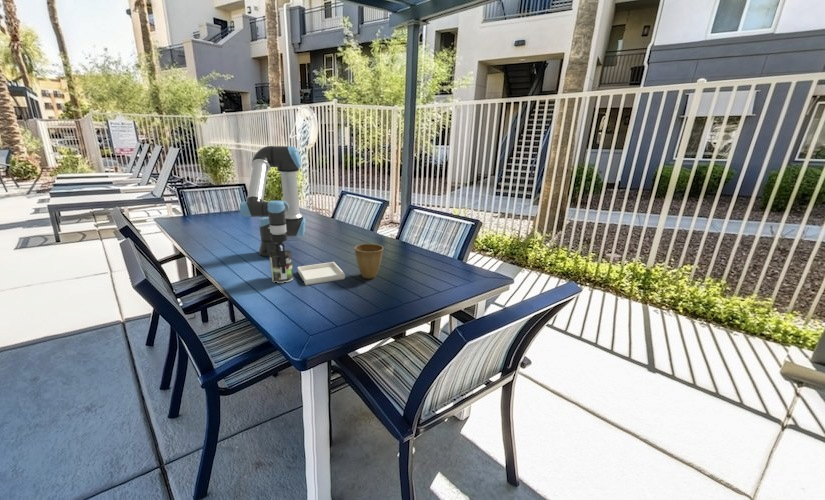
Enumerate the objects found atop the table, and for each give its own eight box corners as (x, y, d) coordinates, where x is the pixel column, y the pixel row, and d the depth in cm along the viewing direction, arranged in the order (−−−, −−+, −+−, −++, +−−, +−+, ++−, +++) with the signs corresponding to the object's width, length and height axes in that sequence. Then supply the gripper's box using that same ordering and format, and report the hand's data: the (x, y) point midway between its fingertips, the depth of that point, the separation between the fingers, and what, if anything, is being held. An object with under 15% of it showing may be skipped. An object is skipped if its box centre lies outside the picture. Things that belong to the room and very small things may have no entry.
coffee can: (297, 278, 174) (295, 252, 170) (279, 285, 167) (276, 257, 162) (285, 273, 180) (283, 248, 176) (267, 279, 172) (264, 253, 168)
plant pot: (378, 282, 174) (378, 252, 169) (351, 279, 176) (350, 250, 171) (386, 272, 187) (386, 244, 183) (360, 269, 190) (360, 242, 185)
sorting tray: (297, 272, 184) (297, 266, 183) (334, 266, 193) (334, 261, 192) (305, 285, 167) (305, 279, 166) (345, 279, 177) (345, 273, 176)
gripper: (267, 228, 174) (271, 268, 180) (273, 239, 155) (277, 284, 162) (282, 226, 177) (286, 266, 184) (290, 237, 158) (294, 281, 165)
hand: (282, 275), depth 173 cm, fingers closed on coffee can, 10 cm apart
